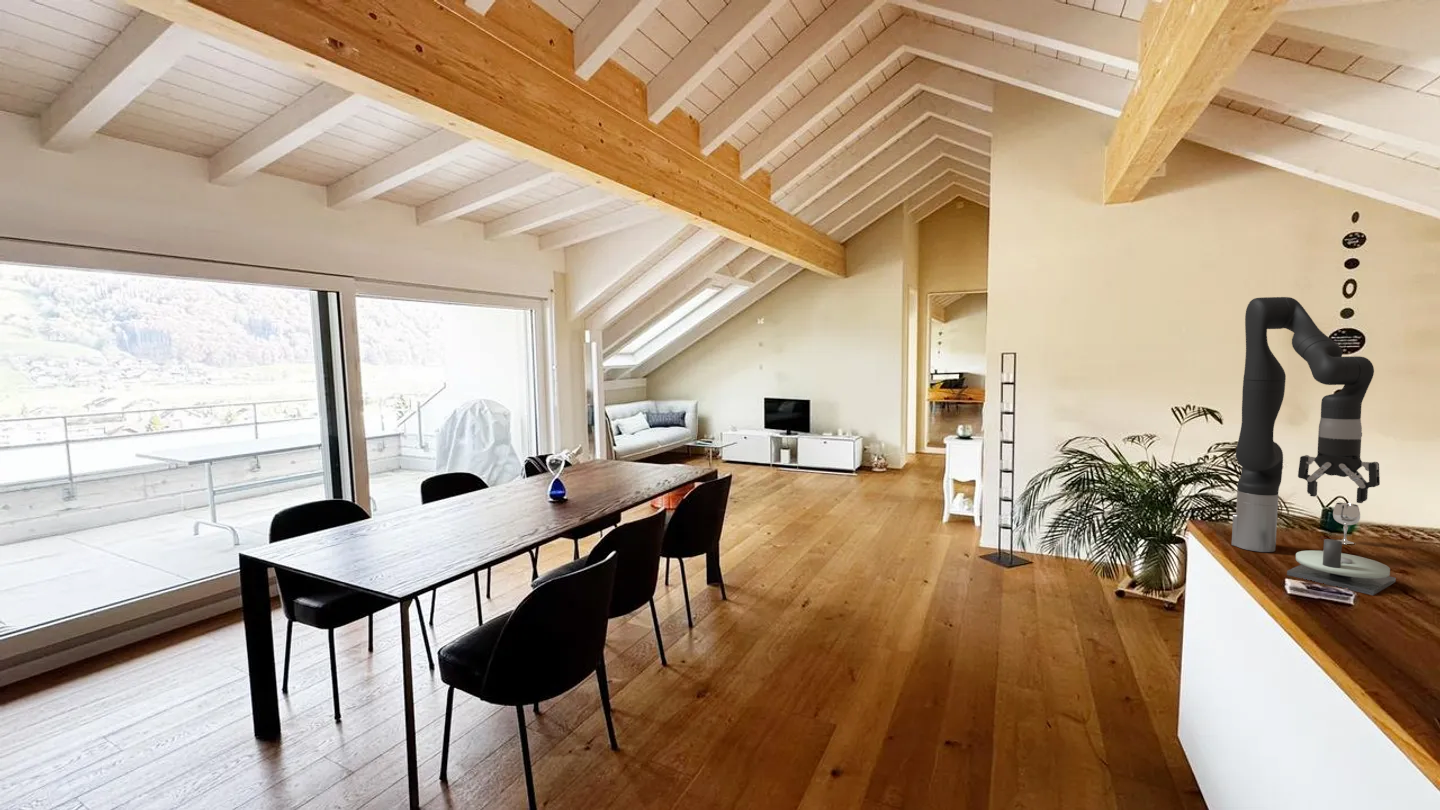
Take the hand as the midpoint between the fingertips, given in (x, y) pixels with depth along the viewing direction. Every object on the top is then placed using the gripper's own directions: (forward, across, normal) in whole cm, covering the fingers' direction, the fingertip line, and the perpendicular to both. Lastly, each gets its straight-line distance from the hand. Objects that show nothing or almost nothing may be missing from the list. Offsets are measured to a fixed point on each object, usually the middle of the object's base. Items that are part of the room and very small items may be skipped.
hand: (1336, 499), depth 151 cm
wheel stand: (+22, 0, +6) cm, 23 cm away
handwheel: (+19, 0, +6) cm, 20 cm away
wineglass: (+22, -10, +46) cm, 52 cm away
